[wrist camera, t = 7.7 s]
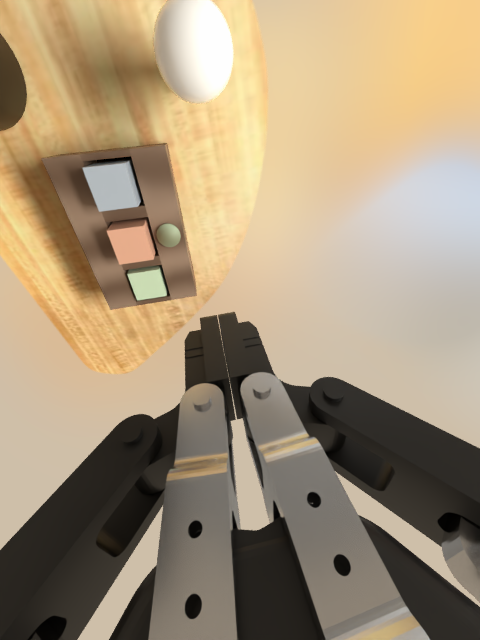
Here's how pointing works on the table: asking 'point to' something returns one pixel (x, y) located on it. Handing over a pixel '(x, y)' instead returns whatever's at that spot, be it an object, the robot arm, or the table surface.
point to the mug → (10, 87)
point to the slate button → (113, 184)
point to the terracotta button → (132, 240)
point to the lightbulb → (193, 49)
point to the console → (155, 205)
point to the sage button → (148, 282)
